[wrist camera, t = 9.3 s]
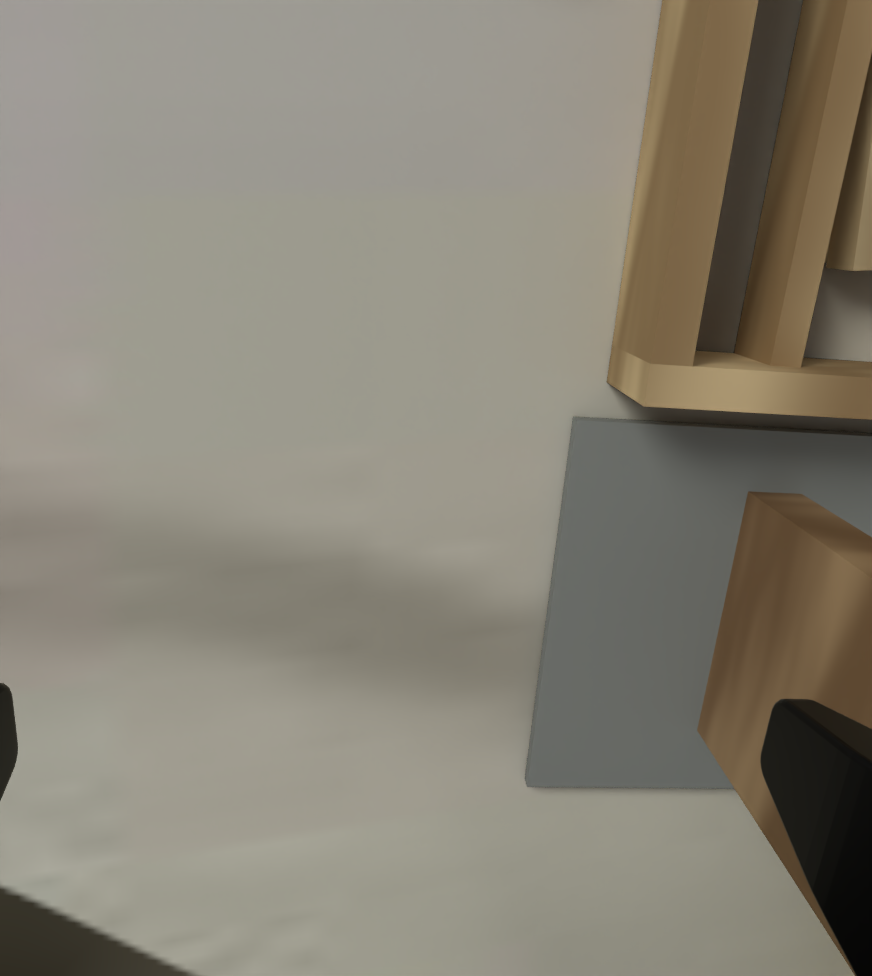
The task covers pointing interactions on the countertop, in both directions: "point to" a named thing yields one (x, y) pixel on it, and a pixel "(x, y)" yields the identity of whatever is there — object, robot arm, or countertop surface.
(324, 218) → the countertop surface
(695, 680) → the mat
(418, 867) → the countertop surface
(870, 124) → the offcut upper
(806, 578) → the wooden block
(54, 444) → the countertop surface
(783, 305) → the rack
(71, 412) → the countertop surface
